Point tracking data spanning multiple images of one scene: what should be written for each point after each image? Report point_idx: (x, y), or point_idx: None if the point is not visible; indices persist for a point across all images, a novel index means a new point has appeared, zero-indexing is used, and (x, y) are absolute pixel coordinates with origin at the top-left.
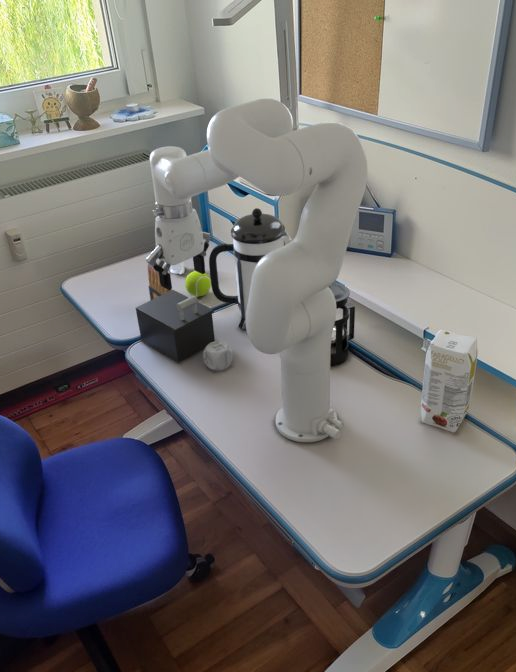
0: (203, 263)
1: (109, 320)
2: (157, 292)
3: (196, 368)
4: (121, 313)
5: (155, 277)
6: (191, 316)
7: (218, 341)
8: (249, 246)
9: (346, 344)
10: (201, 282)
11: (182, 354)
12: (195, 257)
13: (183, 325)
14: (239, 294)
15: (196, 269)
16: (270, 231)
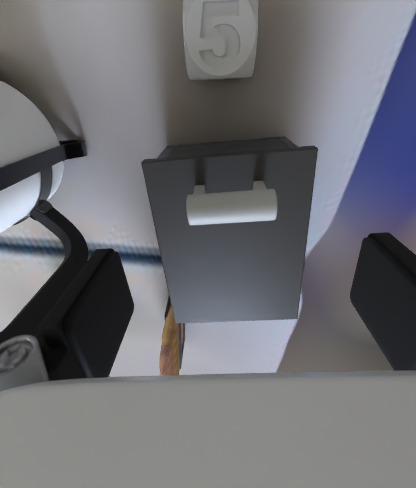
0: (71, 292)
1: (269, 340)
2: (180, 345)
3: (271, 79)
4: (241, 343)
5: None
6: (223, 180)
7: (196, 61)
8: None
9: None
10: None
11: (272, 140)
12: (94, 369)
13: (280, 151)
14: (19, 188)
15: (126, 300)
16: None
